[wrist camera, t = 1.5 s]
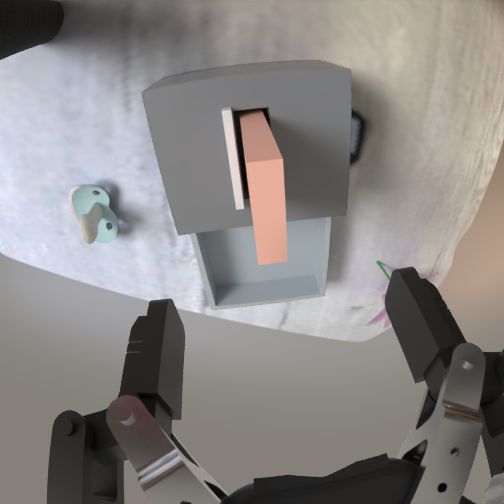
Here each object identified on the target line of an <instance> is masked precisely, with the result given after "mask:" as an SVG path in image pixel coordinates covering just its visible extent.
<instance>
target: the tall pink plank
mask: <svg viewBox="0 0 504 504" xmlns="http://www.w3.org/2000/svg"><path fill="white" fill-rule="evenodd" d="M239 117H240V125H241V133H242V141H243V149H244V158H245V166H246V173H247V181H248V189H249V196H250V204H251V211H252V219H253V227H254V234H255V242H256V250H257V257H258V265H263V264H271V263H279V262H287V261H288V259H287V231H286V208H285V187H284V169H283V158H282V156H281V153H280V151H279V148H278V146H277V144H276V141H275V139H274V137H273V135H272V132H271V130H270V128H269V125H268V123H267V121H266V119H265V116H264V114H263V112H262V110H261V108H255V109H246V110H239Z"/></svg>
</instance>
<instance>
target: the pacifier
mask: <svg viewBox="0 0 504 504" xmlns="http://www.w3.org/2000/svg"><path fill="white" fill-rule="evenodd" d="M94 191H98V192H99V193H100V194H99V193H97V192H94ZM109 202H110V198H109V195H108V193H107V192H106V191H105V190H104V189H103V188H101V187H99V186H96V185H84V186H75V187H73V188H72V190H71V191H70V194H69V207H70V211H71V213H72V216H73V217H74V219H75V221H76V222H77V223H78V225H79V226H80V228H81V232H82V235H83V238H84V240H85V241H86V242H87V243H88V244H91V243H93V242H94V241H97V242H99V243H108V242H110V241H112V240H113V239H114V238H115V236H116V234H117V231H118V220H117V217H116V215H115V213H114V212H113V211H112V210H111V209H110V207H109ZM108 222H109V223H111V224H112V229H109V228H108V227H107V223H108Z"/></svg>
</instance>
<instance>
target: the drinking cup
mask: <svg viewBox="0 0 504 504" xmlns="http://www.w3.org/2000/svg"><path fill="white" fill-rule="evenodd" d="M63 17H64V13H63V9H62V7H61V5H60V4H59V3H58V2H56V1H54V0H0V60H1V59H4V58H6V57H8V56H11V55H13V54H16V53H18V52H21V51H24V50H26V49H29V48H32V47H35V46H38V45H41V44H44V43H46V42H48V41H50V40H51V39H52V38H53V37H54V36H55V35H56V34H57V33H58V31H59V30H60V28H61V25H62V23H63Z"/></svg>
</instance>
